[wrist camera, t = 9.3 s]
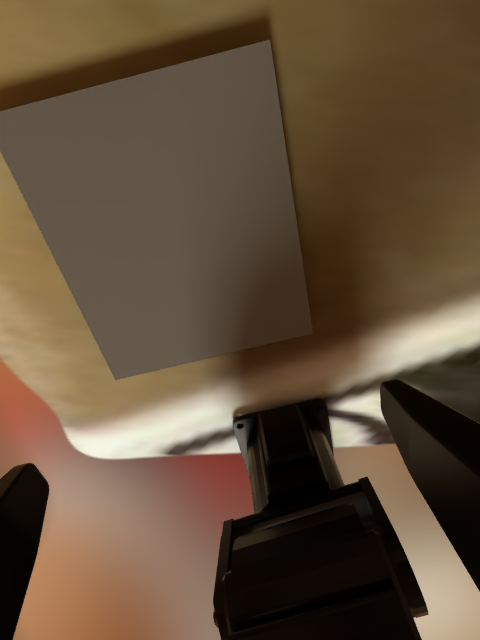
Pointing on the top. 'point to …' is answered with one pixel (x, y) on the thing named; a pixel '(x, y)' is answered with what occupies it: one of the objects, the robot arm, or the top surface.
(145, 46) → the top surface
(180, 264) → the rubber mat
